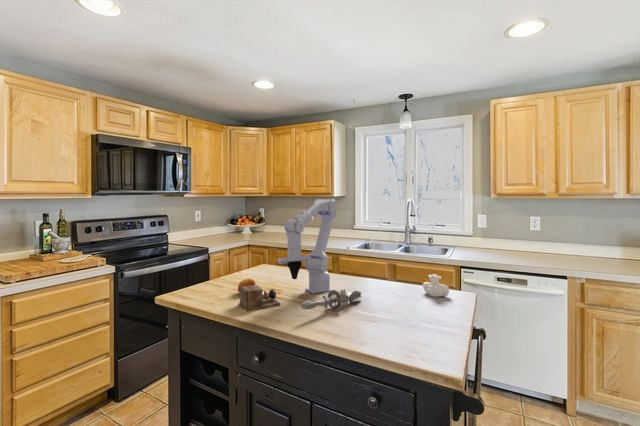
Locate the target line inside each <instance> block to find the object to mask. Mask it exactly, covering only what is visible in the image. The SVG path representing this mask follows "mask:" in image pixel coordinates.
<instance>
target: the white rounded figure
mask: <svg viewBox="0 0 640 426" xmlns="http://www.w3.org/2000/svg"><path fill="white" fill-rule="evenodd" d="M428 278H429V281H430V282H429V281H425V282H422V284H421V286H422V288H423V289H424V292H425V293H426V294H427V295H429V296H430V297H433V298H439V297H448V296H449V293H450V288H449V287H448V285H446V284H441V283H440V280H442V276H439V275H437V274H435V273H432V274H428Z"/></svg>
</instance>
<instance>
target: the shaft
mask: <svg viewBox="0 0 640 426" xmlns="http://www.w3.org/2000/svg"><path fill="white" fill-rule="evenodd" d="M276 293H277V292H276V290H275V289H274V288H272V289H270V290H263V299H265V300H267V299H269V298H271V299H275V300H276V297H277V294H276Z"/></svg>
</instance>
